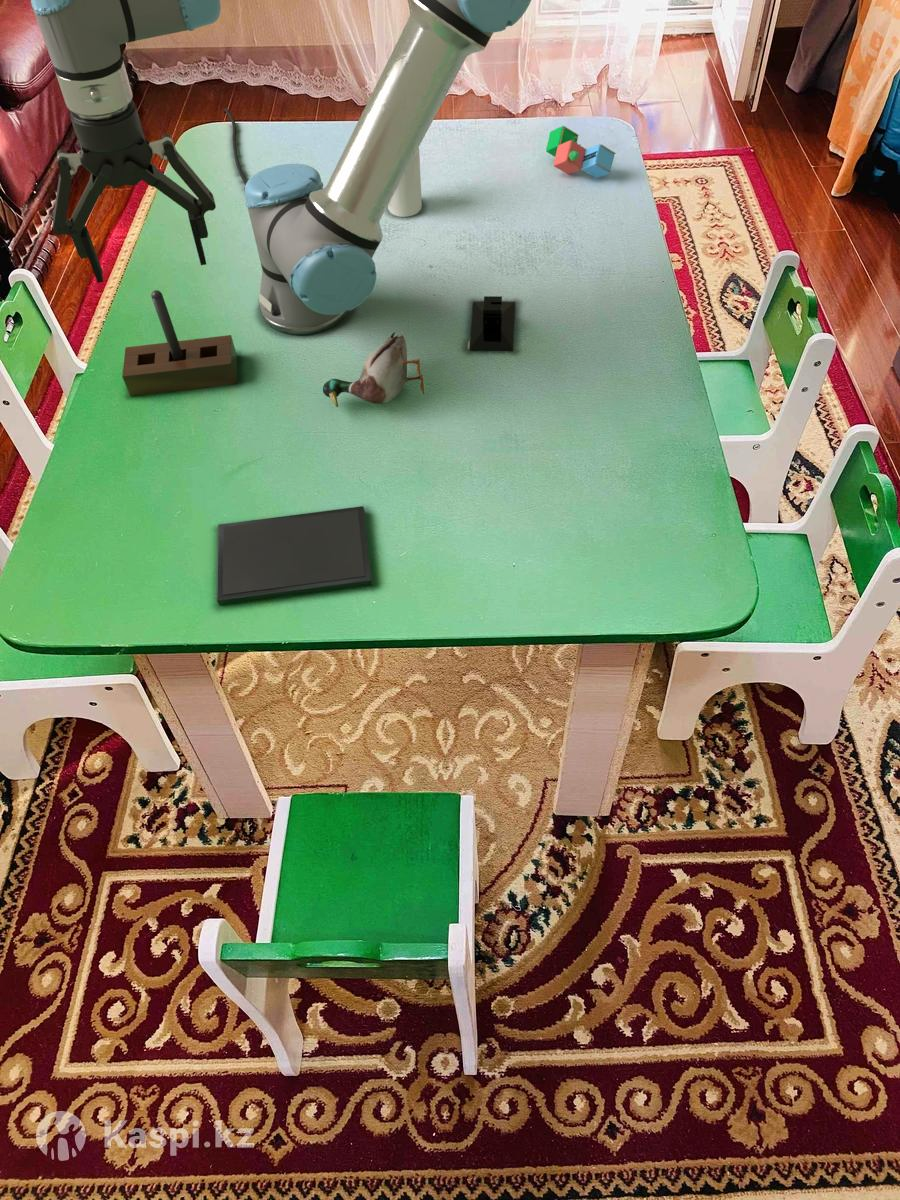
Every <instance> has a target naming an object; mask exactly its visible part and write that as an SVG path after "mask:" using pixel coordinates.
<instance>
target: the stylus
mask: <svg viewBox="0 0 900 1200" xmlns="http://www.w3.org/2000/svg"><path fill="white" fill-rule="evenodd" d="M150 297H151V300H152V303H153V306H154V309H155V311H156V314H157V317H158V320H159V323H160V326H161V328H162V331H163V334H164V337H165V340H166V343H168V346H169V348H170V351H171V354H172V357H173V360H174V361H180V360H184V357H183V354H182V351H181V348H180V345H179V342H178V341H179V340H178V337H177V334H176V330H175V328H174V325H173V322H172V319H171V316H170V313H169V310H168V308H167V304H166V301H165V298H164V295H163V293H162V291H160V290H159V289H156V290H153V291H151V294H150Z"/></svg>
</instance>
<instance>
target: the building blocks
mask: <svg viewBox="0 0 900 1200" xmlns="http://www.w3.org/2000/svg"><path fill="white" fill-rule="evenodd" d="M578 140H579V134H578V133H576V132H575V131H573V130H572V129H570V128H569V127H567V126H565V125H562V126H559V127H557V128H556V129H552V130H551V131H550V132H549V135H548V140H547V144H546V148H545V152H546V153H548V154H549V155H551V156H553V157H554V161H553V167H554V168H556V169H557V170H560V171H562V172H563V173H565V174H567V175H571V174H574V173H576V172H579V171H583V172H585V173H586V174H588V175H589V176H591V177H593V178H595V179H599V178H602V177H604V176H606V175H609V174H611V173H612V167H613V162H614V159H615V154H616V153H617V152H615V151H614V150H611V149H610V148H609V147H607V146H606V145H603V144H602V143H599V144H596V145H593V146H591V147H589V148H585V147H584V146H582V144H581V143H580V144H578Z"/></svg>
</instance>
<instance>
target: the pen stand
mask: <svg viewBox="0 0 900 1200" xmlns="http://www.w3.org/2000/svg"><path fill="white" fill-rule="evenodd" d="M178 342H179V345H180V348H181V351H182V354H183V357H184V360H180V361H174V360H173V357H172V354H171V351H170V348H169V346H168V343H167V342H159V343H150V344H142V345H134V346H126V347H125V348H124V358H123V366H122V373H121V376H122V380H123V382H124V384H125V387H126V389H127V392H128V394H129V397H137V396H145V395H154V394H162V393H171V392H177V391H187V390H195V389H203V388H211V387H212V388H213V387H220V386H221V387H222V386H228V385H236V384H238V354H237V351H236V347H235V343H234V340H233V336H232V335H231V334H229V335H228V334H227V335H217V336H210V337H203V338H193V339H185V340H178Z"/></svg>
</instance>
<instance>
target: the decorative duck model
mask: <svg viewBox="0 0 900 1200" xmlns="http://www.w3.org/2000/svg"><path fill="white" fill-rule="evenodd" d="M395 334H396V332H395V331H394V332H393V333H392V334H390V335H389V337H387V338H386V339H385V341H384V342H383V343H382V344H381V345H380V346H379V347H377V348H376V349H374V350H373V351H372V352H371V353H369V355H367V357H366V359H365V360H364V363H363V366H362V370H361V373H360V377H359V378H358V379H357V380H356V381H348V380H347V381H346V380H342V379H338V378H331V379H330V380H328V381H326V382H325V383H324V384H323V386H322V393H323V394H324V396H326V397H328V398H329V399H330V400H332V402H333V403H334V405H335V407H336V408H339V403H338V397H339V396H340V395H341V394H342V393H347V394H351V395H353V396H355V397H356V398H357V397H358V398H360V399H361V400H364V401H365V402H368V403H371V404H376V405H382V404H385V403H388V402H391V401H392V400H394V399H395V398H397V397H398V395H399V394H400V393H401V392H402V390H403V389H404V387H405V385H406V383H408V382H410V381H415V380H420V389H421V391H422V394H423V395H425V382H424V375H423V374H421V362H420V359H419V358H417V359H414V360H408V348H407V347H408V346H407V341H406V338H405V335H404V333H403V332H402V331H399V333H398V334H396V335H395ZM408 364H416V372H417V375H418V376H412V377H408Z"/></svg>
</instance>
